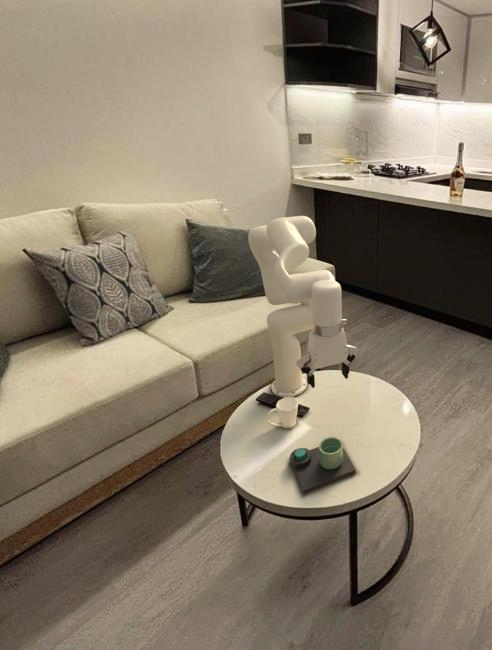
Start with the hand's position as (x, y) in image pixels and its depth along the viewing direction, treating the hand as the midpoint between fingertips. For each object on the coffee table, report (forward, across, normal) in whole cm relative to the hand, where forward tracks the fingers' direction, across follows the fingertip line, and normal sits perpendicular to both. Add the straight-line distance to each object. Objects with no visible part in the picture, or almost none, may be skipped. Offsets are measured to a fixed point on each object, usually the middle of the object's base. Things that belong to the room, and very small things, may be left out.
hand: (328, 380), depth 113 cm
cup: (+25, +10, -16) cm, 32 cm away
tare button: (+22, +10, +2) cm, 24 cm away
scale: (+25, +4, +6) cm, 26 cm away
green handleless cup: (+23, +2, +6) cm, 24 cm away
